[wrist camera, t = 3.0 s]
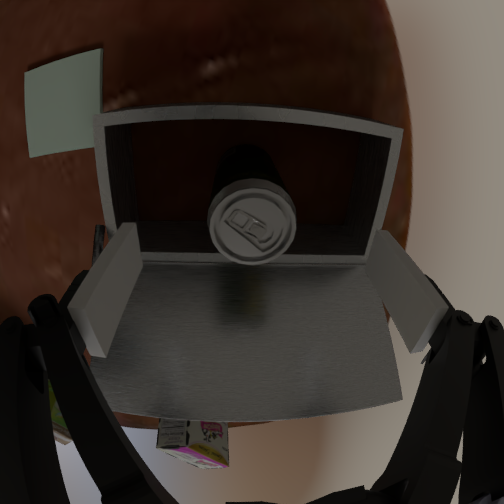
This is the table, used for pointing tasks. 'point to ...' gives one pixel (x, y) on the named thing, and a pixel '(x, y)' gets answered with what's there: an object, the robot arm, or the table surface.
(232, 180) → the beer can
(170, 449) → the candy bar box
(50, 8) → the table surface
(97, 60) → the pad
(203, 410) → the case
